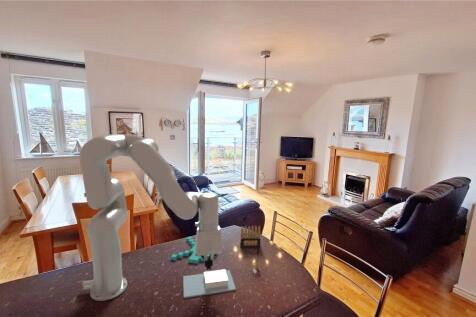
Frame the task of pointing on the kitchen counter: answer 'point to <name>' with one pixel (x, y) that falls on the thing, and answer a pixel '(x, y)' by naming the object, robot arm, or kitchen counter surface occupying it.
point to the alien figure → (192, 258)
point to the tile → (215, 278)
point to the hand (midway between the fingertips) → (208, 267)
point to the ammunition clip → (250, 238)
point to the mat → (196, 285)
